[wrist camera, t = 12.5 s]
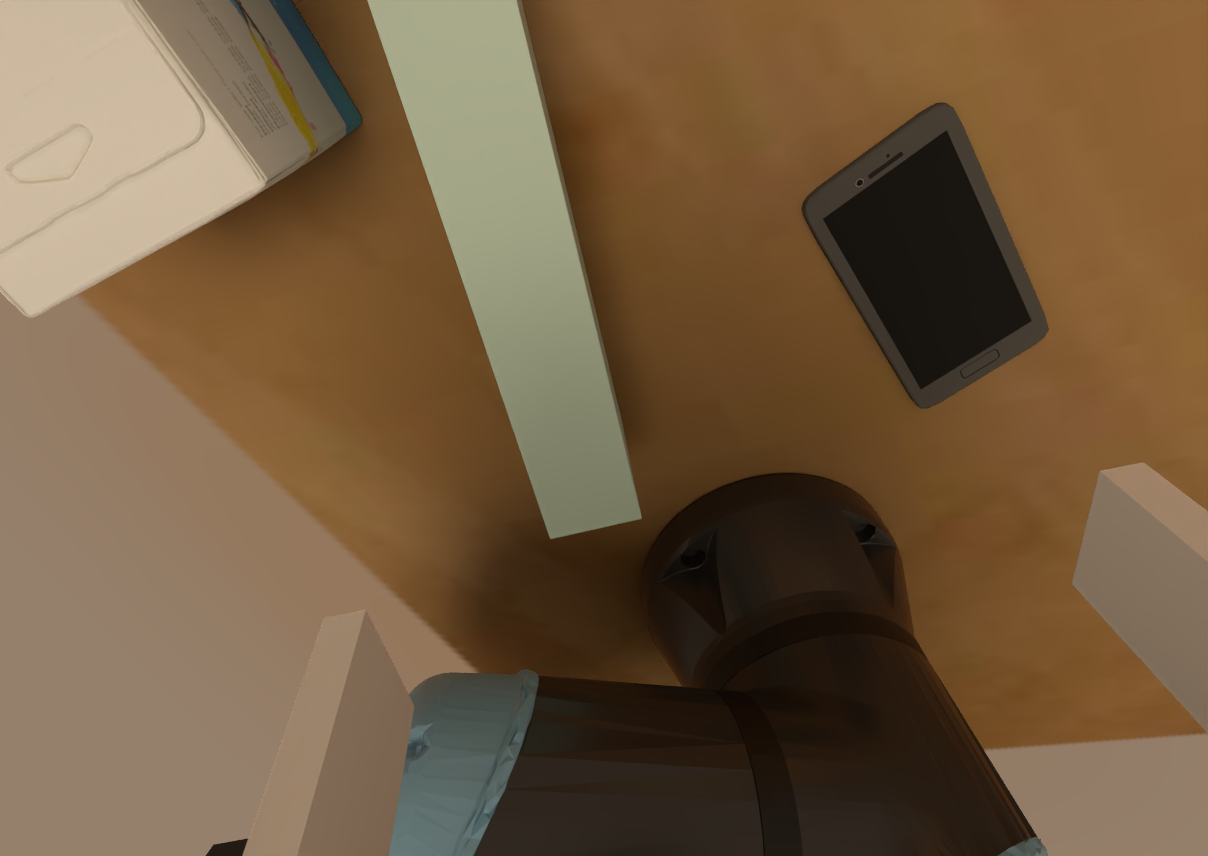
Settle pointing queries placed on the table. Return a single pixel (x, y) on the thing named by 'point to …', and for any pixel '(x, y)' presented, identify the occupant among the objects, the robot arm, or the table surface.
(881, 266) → the cell phone
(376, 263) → the table surface
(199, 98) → the ink box
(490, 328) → the sage green box
